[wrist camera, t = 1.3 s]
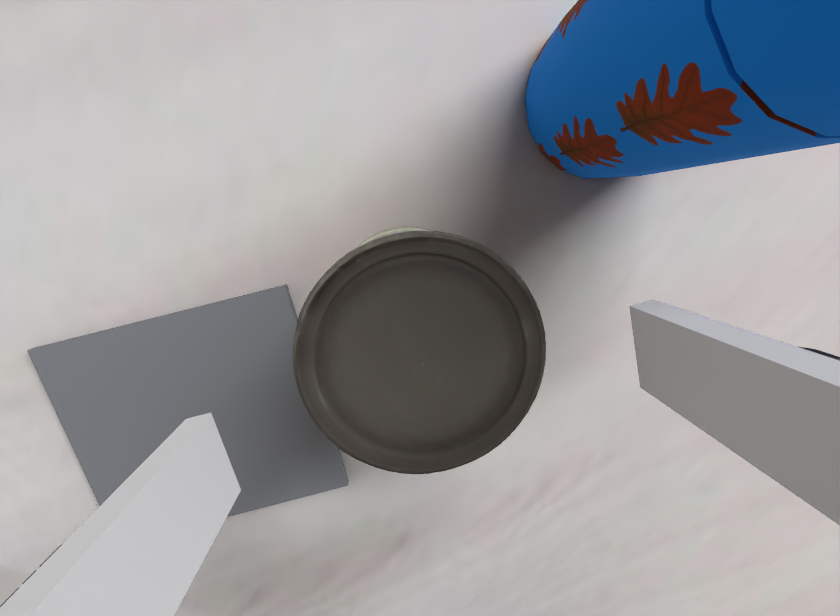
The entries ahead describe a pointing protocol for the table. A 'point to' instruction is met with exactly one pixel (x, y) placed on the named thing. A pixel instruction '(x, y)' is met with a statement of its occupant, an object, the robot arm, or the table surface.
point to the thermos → (684, 83)
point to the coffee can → (419, 351)
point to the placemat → (194, 397)
